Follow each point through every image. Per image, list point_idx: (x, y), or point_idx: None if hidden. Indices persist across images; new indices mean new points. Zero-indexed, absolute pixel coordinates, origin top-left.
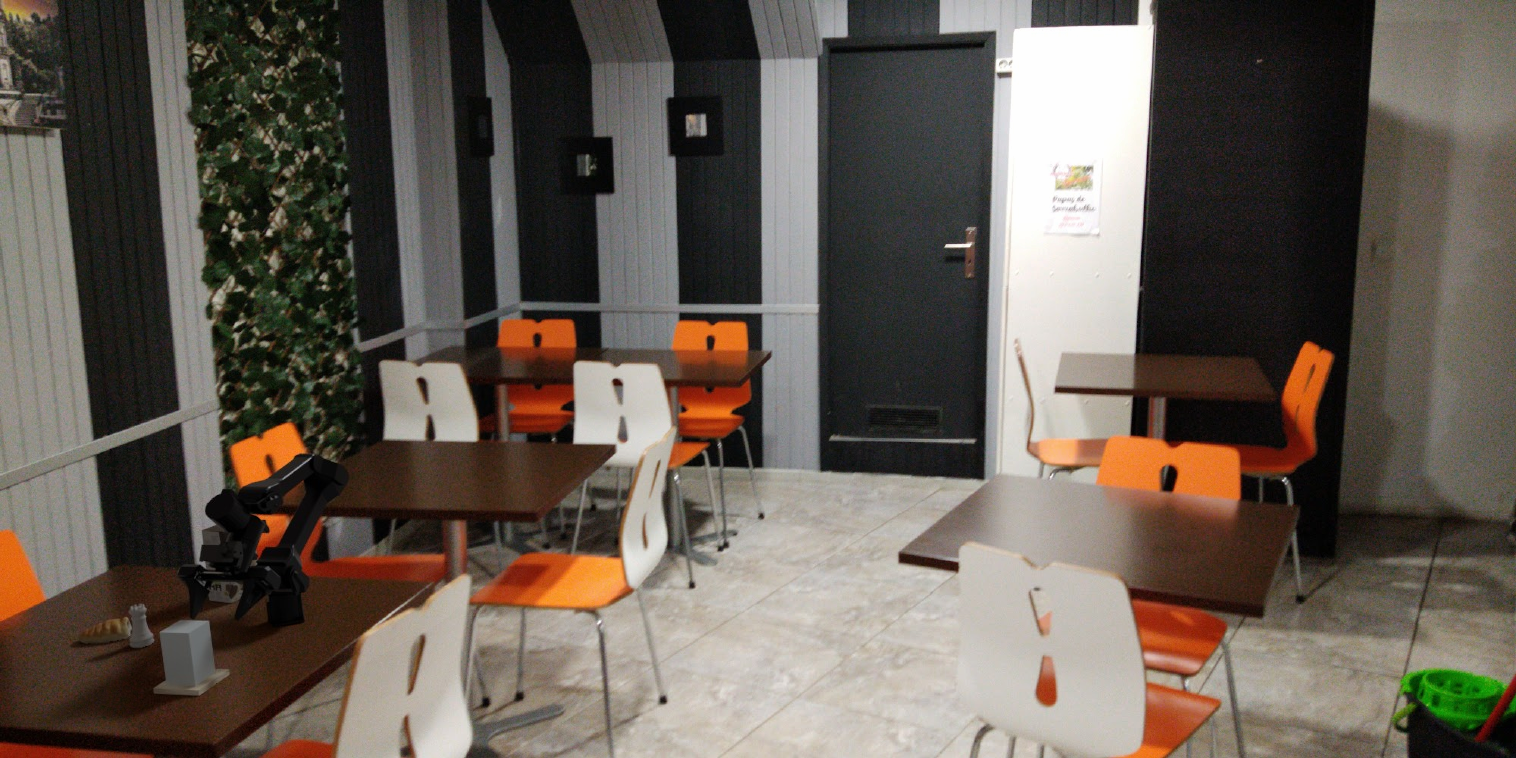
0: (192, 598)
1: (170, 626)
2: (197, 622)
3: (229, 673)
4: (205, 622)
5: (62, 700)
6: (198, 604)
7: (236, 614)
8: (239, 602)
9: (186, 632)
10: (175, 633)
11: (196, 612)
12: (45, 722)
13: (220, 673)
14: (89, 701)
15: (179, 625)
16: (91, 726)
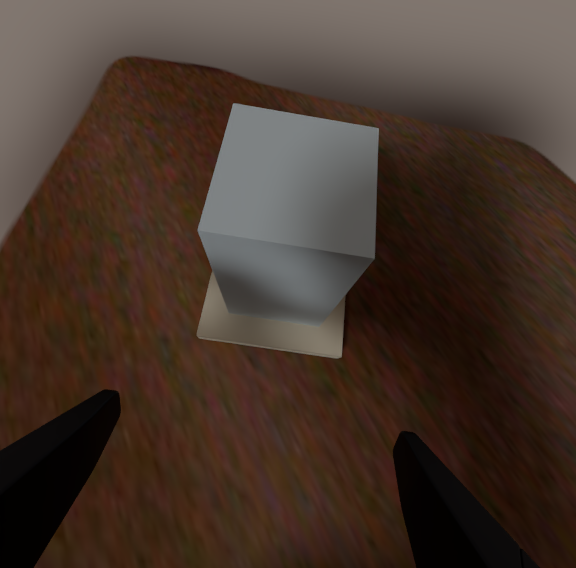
0: (502, 556)
1: (371, 182)
2: (255, 215)
3: (199, 337)
4: (208, 210)
5: (529, 224)
6: (437, 564)
7: (90, 403)
8: (18, 470)
9: (248, 110)
10: (298, 116)
11: (406, 492)
12: (477, 142)
13: (211, 307)
14: (466, 214)
15: (332, 189)
16: (378, 120)
